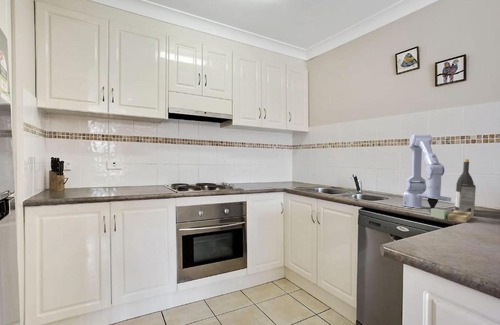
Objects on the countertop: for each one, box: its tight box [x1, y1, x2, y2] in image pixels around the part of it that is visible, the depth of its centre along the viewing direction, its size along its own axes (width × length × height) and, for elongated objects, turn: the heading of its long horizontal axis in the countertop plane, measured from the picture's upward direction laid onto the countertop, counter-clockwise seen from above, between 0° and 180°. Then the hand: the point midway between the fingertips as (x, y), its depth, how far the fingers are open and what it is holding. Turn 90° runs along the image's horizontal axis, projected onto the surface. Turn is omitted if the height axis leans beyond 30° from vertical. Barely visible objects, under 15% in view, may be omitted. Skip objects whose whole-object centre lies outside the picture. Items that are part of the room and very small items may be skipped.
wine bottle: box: [454, 158, 475, 211], centre depth 151 cm, size 8×8×30 cm
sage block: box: [429, 207, 452, 220], centre depth 132 cm, size 6×8×4 cm
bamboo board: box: [446, 209, 473, 223], centre depth 129 cm, size 7×16×2 cm, turn 131°
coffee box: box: [458, 184, 477, 217], centre depth 141 cm, size 9×6×16 cm
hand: (432, 213), depth 135 cm, fingers closed, pressing on sage block
